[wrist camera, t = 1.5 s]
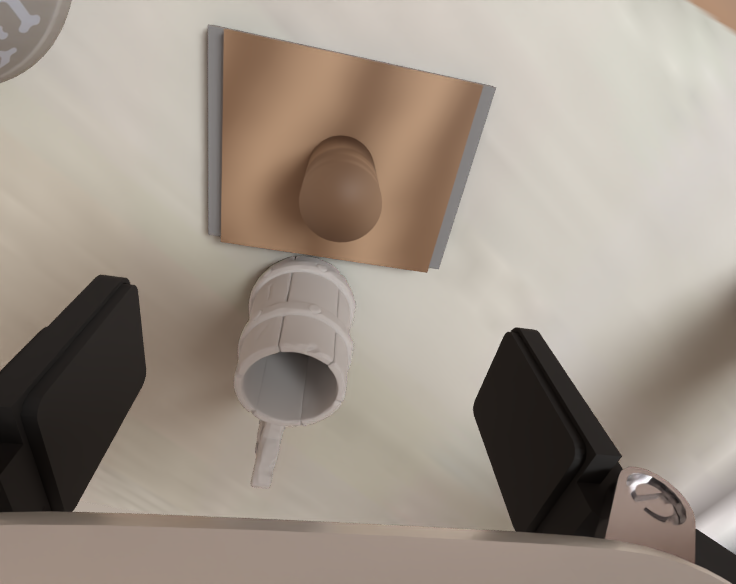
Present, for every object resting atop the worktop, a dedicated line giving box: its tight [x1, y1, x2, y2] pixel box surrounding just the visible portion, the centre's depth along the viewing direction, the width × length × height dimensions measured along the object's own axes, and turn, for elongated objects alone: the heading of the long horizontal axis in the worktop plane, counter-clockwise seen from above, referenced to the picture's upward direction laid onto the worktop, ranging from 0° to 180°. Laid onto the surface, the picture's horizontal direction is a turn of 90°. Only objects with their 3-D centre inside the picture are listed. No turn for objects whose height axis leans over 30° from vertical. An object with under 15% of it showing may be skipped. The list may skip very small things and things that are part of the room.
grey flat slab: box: [208, 25, 496, 269], centre depth 27 cm, size 16×12×1 cm
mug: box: [234, 256, 356, 488], centre depth 28 cm, size 8×12×12 cm, turn 160°
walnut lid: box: [221, 29, 483, 273], centre depth 23 cm, size 14×12×7 cm
